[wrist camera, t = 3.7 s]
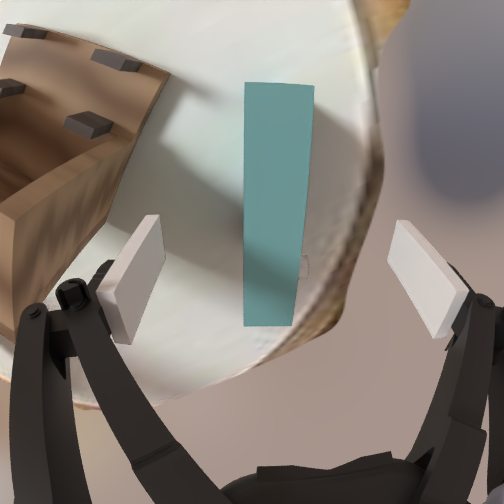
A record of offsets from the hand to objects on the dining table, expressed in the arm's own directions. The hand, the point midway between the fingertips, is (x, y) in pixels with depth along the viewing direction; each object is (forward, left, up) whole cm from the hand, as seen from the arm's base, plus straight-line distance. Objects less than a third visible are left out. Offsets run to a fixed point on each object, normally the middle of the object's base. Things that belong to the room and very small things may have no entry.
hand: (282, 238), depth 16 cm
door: (0, 0, -14) cm, 14 cm away
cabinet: (-5, +22, -14) cm, 26 cm away
